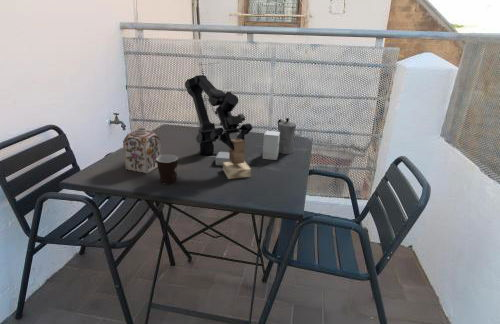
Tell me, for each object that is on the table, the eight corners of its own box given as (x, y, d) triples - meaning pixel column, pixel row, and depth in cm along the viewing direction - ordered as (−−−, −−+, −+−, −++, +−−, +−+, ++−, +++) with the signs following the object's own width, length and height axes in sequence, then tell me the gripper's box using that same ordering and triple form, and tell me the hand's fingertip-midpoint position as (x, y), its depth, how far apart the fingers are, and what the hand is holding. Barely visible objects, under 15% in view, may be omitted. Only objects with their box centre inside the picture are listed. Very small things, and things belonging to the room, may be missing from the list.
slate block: (215, 165, 157) (215, 157, 155) (219, 159, 164) (219, 151, 163) (232, 166, 156) (232, 158, 154) (235, 160, 163) (235, 152, 162)
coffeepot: (299, 154, 173) (302, 120, 167) (284, 156, 170) (286, 122, 163) (283, 145, 186) (286, 113, 179) (269, 147, 182) (271, 114, 176)
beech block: (228, 179, 143) (228, 171, 141) (223, 170, 152) (223, 162, 150) (250, 177, 146) (250, 169, 144) (244, 168, 154) (244, 160, 153)
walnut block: (229, 161, 147) (229, 139, 143) (238, 159, 150) (239, 137, 146) (234, 164, 143) (235, 142, 140) (244, 162, 146) (245, 140, 142)
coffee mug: (168, 187, 133) (167, 164, 130) (153, 181, 138) (151, 159, 134) (188, 177, 143) (187, 155, 139) (173, 172, 147) (172, 151, 143)
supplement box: (276, 160, 164) (278, 135, 160) (262, 158, 166) (263, 134, 161) (278, 155, 171) (280, 131, 166) (264, 153, 172) (265, 130, 168)
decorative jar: (125, 169, 148) (120, 130, 141) (141, 160, 158) (138, 124, 151) (147, 174, 144) (144, 134, 138) (163, 164, 154) (160, 127, 148)
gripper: (213, 109, 136) (226, 143, 131) (251, 105, 146) (264, 136, 141) (204, 123, 145) (217, 155, 140) (240, 118, 155) (253, 148, 150)
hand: (238, 148), depth 143 cm, fingers closed on walnut block, 5 cm apart
